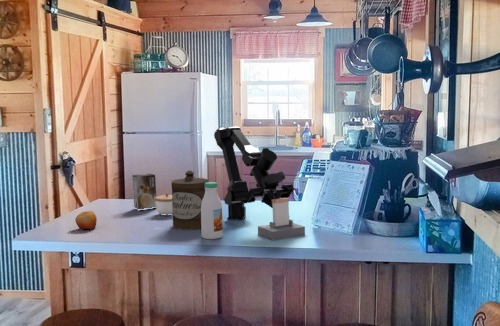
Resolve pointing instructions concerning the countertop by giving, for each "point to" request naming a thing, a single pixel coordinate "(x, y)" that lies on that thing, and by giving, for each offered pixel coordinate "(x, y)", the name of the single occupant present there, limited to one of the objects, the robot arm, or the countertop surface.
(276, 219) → the lever
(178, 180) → the wooden container
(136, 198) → the coffee box
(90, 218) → the fruit
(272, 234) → the switch unit
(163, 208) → the lidded jar
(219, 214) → the milk bottle
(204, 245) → the countertop surface
